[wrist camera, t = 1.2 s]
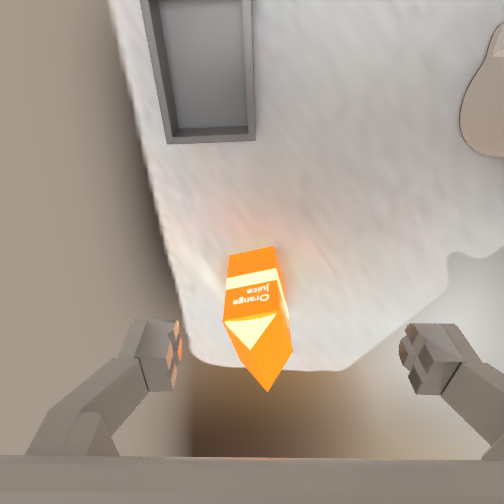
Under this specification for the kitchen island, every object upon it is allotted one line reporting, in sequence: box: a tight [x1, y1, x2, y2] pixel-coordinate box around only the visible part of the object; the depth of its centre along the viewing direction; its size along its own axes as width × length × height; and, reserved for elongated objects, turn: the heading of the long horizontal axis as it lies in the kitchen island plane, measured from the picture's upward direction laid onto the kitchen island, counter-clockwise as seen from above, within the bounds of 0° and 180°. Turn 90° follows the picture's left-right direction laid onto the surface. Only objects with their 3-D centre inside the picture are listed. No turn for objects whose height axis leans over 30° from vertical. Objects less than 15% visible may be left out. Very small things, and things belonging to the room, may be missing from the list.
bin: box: [140, 0, 256, 144], centre depth 36 cm, size 15×11×4 cm
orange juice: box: [223, 246, 293, 392], centre depth 47 cm, size 8×9×20 cm
